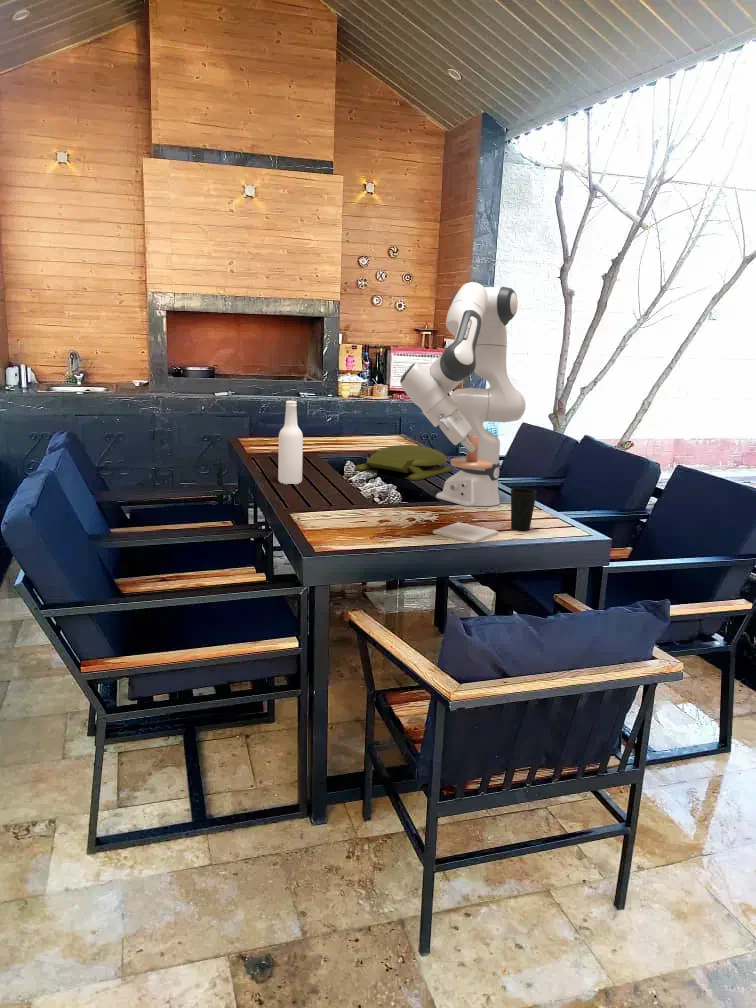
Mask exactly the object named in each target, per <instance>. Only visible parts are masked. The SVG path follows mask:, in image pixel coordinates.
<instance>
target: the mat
mask: <svg viewBox="0 0 756 1008" xmlns="http://www.w3.org/2000/svg"><path fill="white" fill-rule="evenodd" d="M432 534H435V535H438V536H442V537H446V538H450V539H454V540H459V541H463V542H468V543H470V544H476V543H478V542H481V541H483V540H484V541H485V540H486V539H489V538H491V537H494V536H496V535H499V530H495V529H490V528H487V527H482V526H478V525H474V524H468V523H463V522H460V521H457V522H455V523H451V524H448V525H446V526H443V527H440V528H437V529H434V530H432Z"/></svg>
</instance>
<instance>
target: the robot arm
mask: <svg viewBox="0 0 756 1008" xmlns="http://www.w3.org/2000/svg"><path fill="white" fill-rule="evenodd" d="M517 311H518V296H517V293H516V291H515V290H514V288H511V287H508V286H501V287H496V286H494V287H493V286H483V285H482V284H480V283H478V282H474V281H470V282H467V283H464V284H463V285H462V286H461V287H460V288H459V290H458V291H456V292H454V294H453V295H452V297H451V298H450V304H449V309H448V311H447V314H446V320H445V326H446V329H447V330H448V331H449V333H450V334H451V335H452V336H453V337H455V338H454V341H453V342H452V343H451V344H448V346H447V347H446V349H445V350H443V352H442V354H440V356H438V357H437V359H435V360H434V361H433V362H430V363H425V364H424V363H423V364H421V363H417V362H414V363H413V364H411V365H410V366H409V367H408V368H407V370H405V372H404V373H403V374H402V376H401V377H400V381H399V383H400V386H401V388H402V389H403V392H404V393H405V394H406V396H407V397H408V398H409V399H410V400H411V401H412V403H414V405H416V406H417V407H419V408H420V410H421V411H422V413H423V415H424V417H426V418H427V420H428V421H429V422H430V423H431V425H433V427H434V428H436V427H438V426H439V429H440V430H441V431H442V432H443V434H444V435H445V436H446V437H447V439H448V441H450V442H451V443H452V444H453V446H457V445H459V443H460V444H461V445H462V446H463V447H465V448H466V450H467V449H468V450H469V451H470V452H473V451H474V450H475V449H476V447H475V446H474V445H473V444H472V443H471V442H470V441H469V440H468V435H477V436H479V446H478V458H482V459H487V460H490V461H492V462H493V465H492V468H489V469H465V468H460V470H459V471H457V472H456V473H455V474H453V475H451V476H450V477H447V479H446V480H445V482H444V484H443V490H442V491H440V492H437V494H436V495H435V497H436V498H437V499H440V500H443V501H447V502H451V503H454V504H457V505H459V506H460V505H462V506H464V507H494V506H497V505H500V504H501V500H500V495H499V477H500V466H501V465H500V464H501V463H500V460H499V459H500V449H501V441H500V439H499V437H498V436H497V435H496V434H495V433H493V432H491V431H489V430H488V429H486V428H485V427H484V423H486V422H490V423H509V422H516V421H519V420H520V419H521V418H522V417H523V415H524V413H525V411H526V400H525V398H524V395H522V393H521V392H520V391H519V390H517V389H516V388H515V386H514V385H513V384H512V382H511V380H510V378H509V375H508V370H507V352H508V351H507V347H508V345H507V344H508V336H507V335H508V333H507V325H508V324H509V322H510V321H512V319H513V318H514V317H515V315H516V314H517ZM473 373H475V374H476V376H479V377H480V378H482V379H484V380H485V381H487V383H488V384H489V388H481V387H478V388H476V387H475V388H474V387H465V388H458V389H456V387H458V386H459V385H460V384H461V383H462V382H463V381H464V380H466V379H467V378H468V377H470V376H471V375H473ZM454 389H455V390H454ZM453 390H454V391H453ZM451 392H452V393H451ZM449 393H451V394H450V395H448V394H449Z"/></svg>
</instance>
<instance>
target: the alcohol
mask: <svg viewBox="0 0 756 1008" xmlns="http://www.w3.org/2000/svg"><path fill="white" fill-rule="evenodd" d="M297 403H298V401H296V400H286V401H285V414H284V423H283V424H284V425H283V427H282V428H280V431H279V432H278V458H277V459H278V461H277V462H278V465H277V467H278V469H277V470H278V474H277V475H278V476H277V480H278V482H279V483H280V484H282V483H283V484H282V485H288V484H294V485H299V483H300V484H301V483H302V482H303V458H304V457H303V451H304V450H303V449H304V448H303V446H304V443H303V442H304V436H303V434H304V433H303V431H302V430H301V429H300V427H299V425H298V412H297V411H298V410H297V409H298V408H297V406H298V405H297Z"/></svg>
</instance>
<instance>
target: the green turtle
mask: <svg viewBox="0 0 756 1008" xmlns="http://www.w3.org/2000/svg"><path fill="white" fill-rule="evenodd" d="M446 463H448V457H447V456H446V455H445V454H444V453H443V452H441V451H440V450H437V449H435V448H431V447H427V446H420V445H415V444H413V445H411V444H397V445H391V446H387V447H386V446H385V447H383V448H381V449H379V450H377V451H376V452H375V453H374V454H371V455H370V456H369V458H368V459H367V461H366V463H362V464H358V465H355V466H354V469H355V471H359V472H365V471H370V470H373V468H374V469H381V470H387V471H392V472H393V471H394V472H399V473H405V474H408V473H411V474H409V475H408V476H407V478H408V480H410V481H413V480H415V482H417V481H421V480H425V479H428V478H432V477H435V476H439V475H443V474H445V473H449V472H451V471H452V468H451V466H448V465H443V464H446ZM439 465H440V466H439ZM441 465H442V466H441ZM429 466H430V467H431V466H437V467H433V468H430V469H426V470H423V469H421V467H429Z"/></svg>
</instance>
